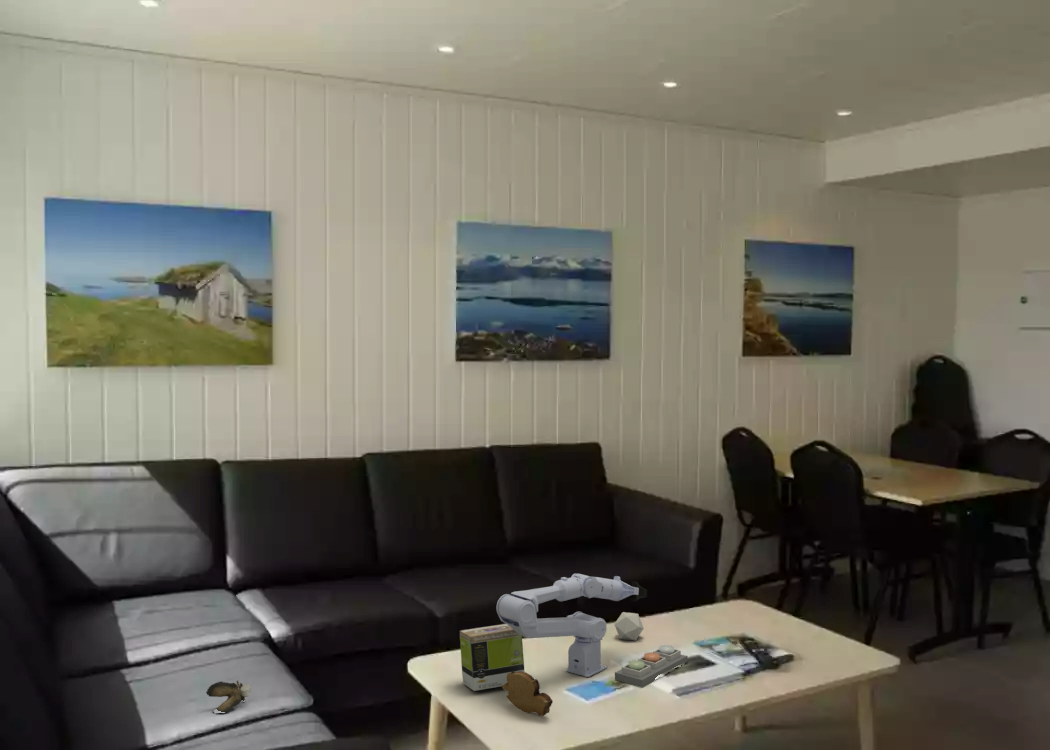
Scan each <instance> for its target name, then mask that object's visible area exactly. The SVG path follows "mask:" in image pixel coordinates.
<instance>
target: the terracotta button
mask: <svg viewBox="0 0 1050 750" xmlns="http://www.w3.org/2000/svg"><path fill="white" fill-rule="evenodd" d="M643 656H644V660H645V661H649V662H653V663H656V662H658V661H659V660H660V655H659V654H658V653H653V651H652V652H650V651H649V652H645V653H644V654H643Z"/></svg>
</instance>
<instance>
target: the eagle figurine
mask: <svg viewBox="0 0 1050 750" xmlns="http://www.w3.org/2000/svg"><path fill="white" fill-rule="evenodd" d="M205 693H206V695H207V696H208V697H212V698H213V697H215V698H216V697H217V698H221V697H227V698H226V699H225V701H223V702H221V704H220V705H218V707H215V709H217V710H218V711H221V712H226V713H228V712H229V711H231V710H232V709H233V708H234V707H236V706H238V705H239V704H240V703H241V702H243V701H244V700H245V701H246V697H247V698H248V697H249V695H250V694H251V693H252V687H251V685H249V684H248V683H243V682H239V680H236V682H231V683H230V682H225V681H217V682H215V683H212V684H211V685H210V686H208V688H207V690H206V692H205ZM242 700H243V701H242Z"/></svg>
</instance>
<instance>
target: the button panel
mask: <svg viewBox="0 0 1050 750" xmlns="http://www.w3.org/2000/svg"><path fill="white" fill-rule="evenodd" d="M652 652H653V653H658V654H659V655H660V660H659V661H658V662H656V663H653V662H649V661H645V660H644V655H643V656H641V657H639V658H637V660H640V661H643V662H644V669H642V670H640V671H637V670H633V669H629V668H628V663H627V664H626V665H623V666H621V669H619V670H617V671H615V672H614V681H619V682H622V683H624V684H629V685H632V686H637V687H640V688H644V687H645V686H648V685H649V684H651V683H653V682H655V681H656V680H655V678H656V677H657V676H658V675H660V674H662V673H664V672H666V671H668V670H670V669H672V668H674V667H676V666H678V665H680V664H682V663H684V662H686V661H688V655H685V654H681V653H682V650H681V649H676V648H674V652H675V653H673V654H671V655H667V654H663V653H659V648H658V649H655V650H653V651H652ZM654 680H655V681H654Z"/></svg>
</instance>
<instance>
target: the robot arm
mask: <svg viewBox="0 0 1050 750" xmlns="http://www.w3.org/2000/svg"><path fill="white" fill-rule="evenodd" d="M580 597H585V598H588V599H591V598H597V599H605V600H606V601H613V602H619V601H621V600H624V599H626V598H628V597H629V602H637V601H638V600H640V599H644V598H648V590H647V589H646V588H644V587H642V586H641V585H640V584H639V582H637V581H631V585H630V584H628V583H626V582H624V581H622V580H621V577H620V576H618V575H615V576H613V579H611V578H606V577H605V578H604V577H598V576H589V575H586V574H581V573H575V572H574V573H573V574H572V575H571V577H566V576H563V577H560V579H558V580H555V581H554V582H553V585H551V586H545V587H539V588H538V587H537V588H532V589H527V590H526V589H525V590H518V591H513V592H511V593H510V594H509V593H505V594H503V595H501V596H500V597H499V598H498V600H497V603H496V607H495V608H496V613H497V615H498V618H499V620H500V621H501V622H502V623H503V624H507V625H509V626H510V627H511V628H512V629H513V630H515V631H516V632H517V633H518V634H519V635H521V636H522V638H523V637H524V638H527V639H543V638H559V637H561V638H562V637H573V638H575V639H574V642H573V643H571V644H570V646H569V648H568V652H567V653H568V654H567V656H568V659H567V662H568V668H566V669H565V671H566V672H568V673H571V674H576V675H579V676H582V677H586V678H590V677H592V676H594V675H596V674H598V673H600V672H602V671H604V670H606V669H607V668H608V666H607V665H603V664H602V659H601V658H602V655H601V654H602V653H601V652H602V650H601V649H602V648H601V647H602V646H601V645H602V644H601V641H602V640H603V638H604V637H605V635H606V633H607V622H606V621H605V619H604V618H601V617H596V616H594V615H590V614H586V613H583V612H582V611H576V612H574V613H573V614H570V615H566V617H546V618H538V617H537V613H538V612H539V605H541V604H543V603H545V602H549V601H552V600H557V601H558V602H564V601H568V600H572V599H573V600H574V599H576V598H577V599H578V598H580Z"/></svg>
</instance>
